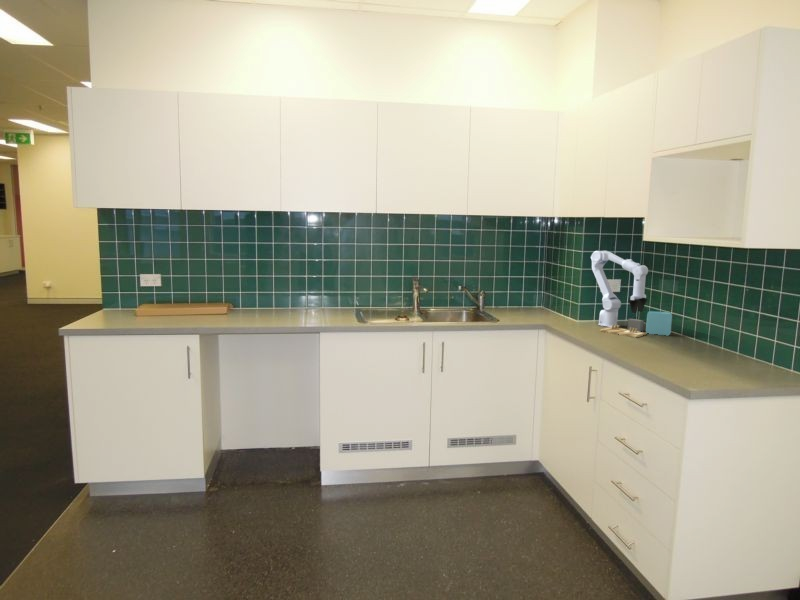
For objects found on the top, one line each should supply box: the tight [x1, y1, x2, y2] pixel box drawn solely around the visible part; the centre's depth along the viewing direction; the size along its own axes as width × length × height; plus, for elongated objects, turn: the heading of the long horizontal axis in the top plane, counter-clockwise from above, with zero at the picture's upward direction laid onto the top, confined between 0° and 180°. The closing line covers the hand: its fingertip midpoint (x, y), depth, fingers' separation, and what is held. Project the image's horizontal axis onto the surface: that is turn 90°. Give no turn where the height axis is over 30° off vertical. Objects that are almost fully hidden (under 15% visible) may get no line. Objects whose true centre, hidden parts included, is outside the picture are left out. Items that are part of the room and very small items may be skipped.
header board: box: [599, 324, 648, 338], centre depth 293 cm, size 20×13×3 cm, turn 42°
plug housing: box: [626, 318, 645, 332], centre depth 300 cm, size 7×4×6 cm, turn 42°
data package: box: [645, 310, 673, 337], centre depth 292 cm, size 12×4×12 cm, turn 66°
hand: (637, 312), depth 299 cm, fingers open, 7 cm apart
